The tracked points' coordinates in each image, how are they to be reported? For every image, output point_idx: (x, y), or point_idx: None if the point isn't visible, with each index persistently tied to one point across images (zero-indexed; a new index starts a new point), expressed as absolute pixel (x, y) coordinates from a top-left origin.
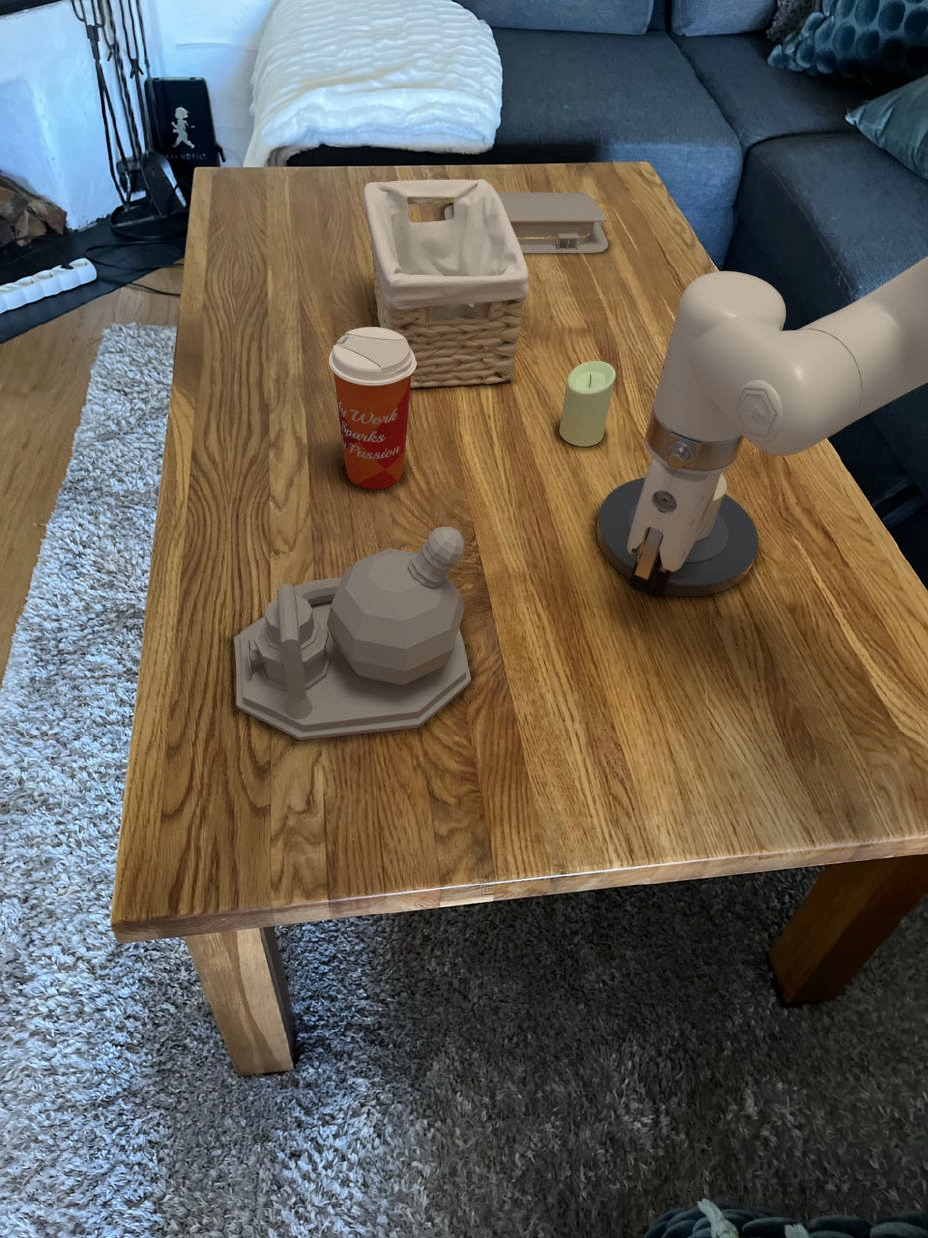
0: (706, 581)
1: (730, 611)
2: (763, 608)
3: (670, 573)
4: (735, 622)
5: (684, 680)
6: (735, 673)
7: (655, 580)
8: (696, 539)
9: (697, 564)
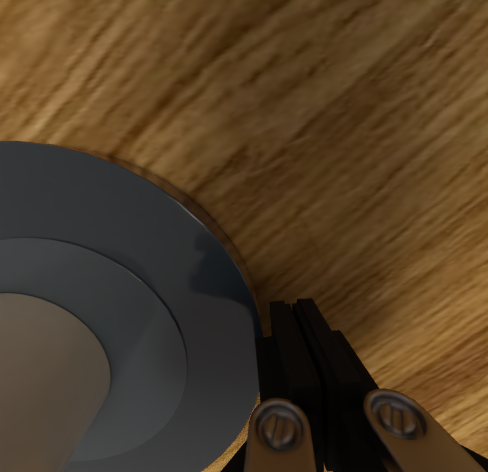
0: (190, 227)
1: (211, 133)
2: (143, 54)
3: (289, 338)
4: (240, 105)
5: (483, 142)
6: (411, 32)
7: (362, 367)
8: (64, 314)
9: (145, 272)
